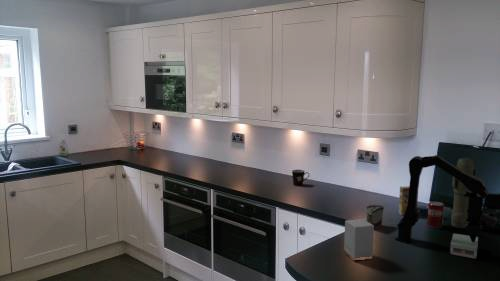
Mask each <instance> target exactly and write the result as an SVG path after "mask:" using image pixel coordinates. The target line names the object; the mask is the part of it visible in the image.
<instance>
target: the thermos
mask: <svg viewBox="0 0 500 281" xmlns="http://www.w3.org/2000/svg"><path fill="white" fill-rule="evenodd" d="M456 167H457V168H459V169H460V170H462V171H464V172H465V173H468V174H471V175H474V176H476V177H477V169H476V167H475V164H474V160H473V159H472V158H469V157H460V158H458V161H457V162H456ZM451 186H452V188H453V193H454V194H453V208H452V211H451V216H450V217H451V218H450V219H451V223H450V225H451V226H452V227H455V228H458V229H465V224H467V223H469V222H467V207H468V197H464V196H463V194H464V193H465V192H466V191H467V190H468V191H469V192H471V191H470V190H469V189H468V188H466V187H465V186H464V185H463V183H462V182H461V181H459V180H458V179H456V178H455V177H453V176H452V184H451ZM472 193H473V192H472Z"/></svg>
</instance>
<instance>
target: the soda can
mask: <svg viewBox="0 0 500 281" xmlns="http://www.w3.org/2000/svg"><path fill="white" fill-rule="evenodd" d="M427 207H428V208H427V221H426V225H427V227H430V228H433V229H441V228H442V227H443V223H444V211H445V205H444V203H443V202H439V201H429V203H428V206H427Z"/></svg>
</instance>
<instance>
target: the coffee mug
mask: <svg viewBox="0 0 500 281" xmlns="http://www.w3.org/2000/svg"><path fill="white" fill-rule="evenodd" d="M291 173H292V183H293V185H292V186H294V187H302V186H303V185H304V181H306V180H307V179H308V178H309V177H310V173H309V172H305V169H292V170H291ZM306 174H308V176H307V177H306V178H305V175H306Z"/></svg>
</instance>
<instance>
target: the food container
mask: <svg viewBox="0 0 500 281" xmlns="http://www.w3.org/2000/svg"><path fill="white" fill-rule="evenodd" d="M384 210H385V207H384V205H381V204H380V205H379V204H372V205H367V206H366V207H365V210H364V213H365V214H366V221H367V222H369V223H370V224H372V225H374V228H375V229H377V228H379V227H380V226H382V225H383V224H382V223H383V214H384Z"/></svg>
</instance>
